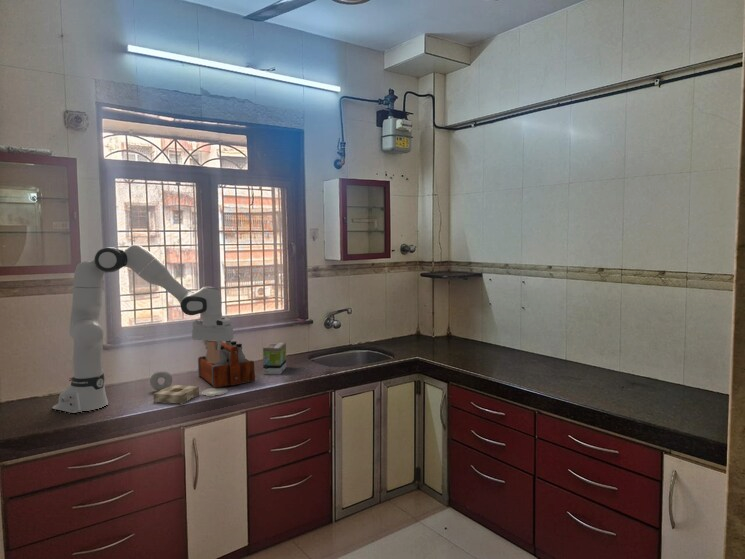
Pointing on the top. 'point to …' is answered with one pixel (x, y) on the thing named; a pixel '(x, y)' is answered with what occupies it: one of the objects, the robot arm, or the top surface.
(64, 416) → the top surface
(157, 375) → the donut
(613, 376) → the top surface
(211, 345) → the peg
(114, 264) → the robot arm
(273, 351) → the tea box
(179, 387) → the holder
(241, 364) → the milk bottle holder
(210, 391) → the coaster
